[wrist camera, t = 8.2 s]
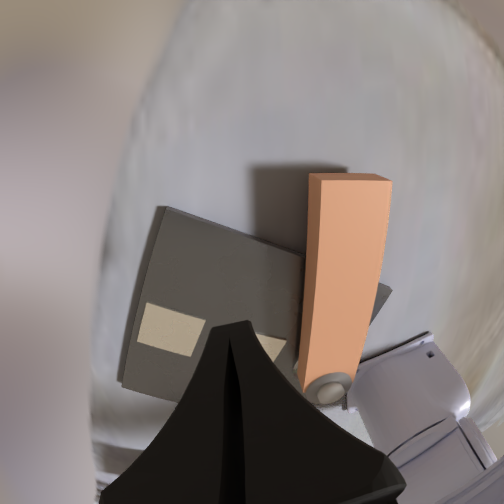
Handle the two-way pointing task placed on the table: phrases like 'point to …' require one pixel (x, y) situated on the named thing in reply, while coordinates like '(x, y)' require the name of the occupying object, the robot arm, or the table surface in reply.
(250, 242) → the label plate
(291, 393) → the robot arm
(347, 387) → the swing bar
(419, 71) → the table surface
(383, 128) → the table surface
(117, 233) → the table surface
